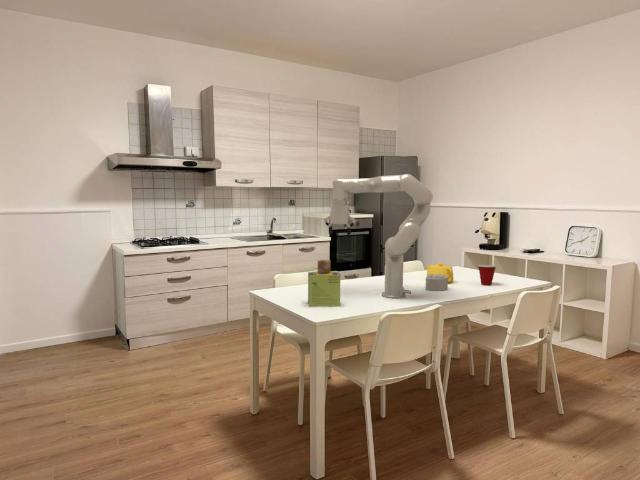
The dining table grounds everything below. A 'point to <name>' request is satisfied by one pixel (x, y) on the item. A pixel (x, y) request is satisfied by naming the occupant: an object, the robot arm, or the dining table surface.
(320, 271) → the walnut block
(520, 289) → the dining table surface
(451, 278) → the teapot
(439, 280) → the lumpy-topped squat cylinder
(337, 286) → the protein box
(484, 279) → the plastic cup
